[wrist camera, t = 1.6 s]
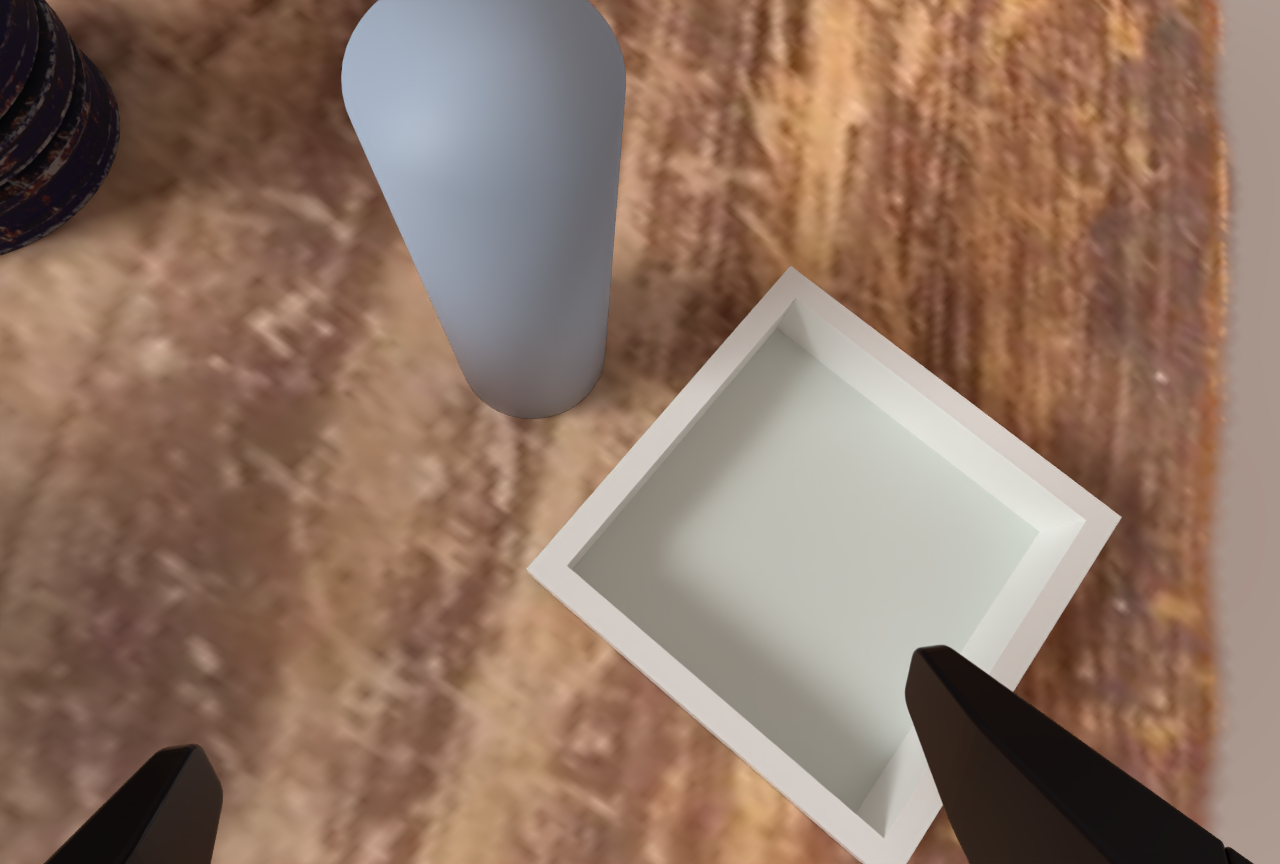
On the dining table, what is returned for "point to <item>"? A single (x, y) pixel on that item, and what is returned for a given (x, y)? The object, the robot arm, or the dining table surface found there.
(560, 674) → the dining table surface
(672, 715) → the dining table surface
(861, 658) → the shallow square tray
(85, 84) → the storage jar
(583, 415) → the dining table surface
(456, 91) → the slate capsule
